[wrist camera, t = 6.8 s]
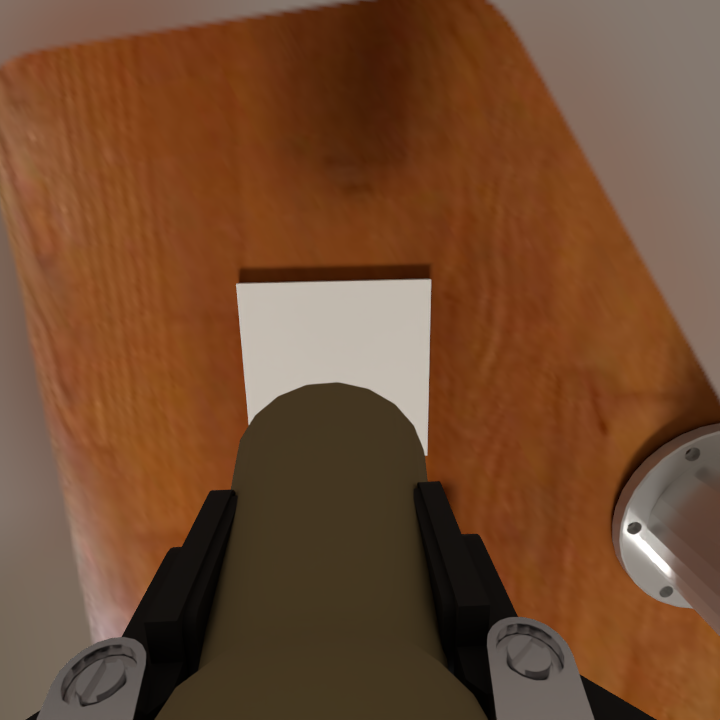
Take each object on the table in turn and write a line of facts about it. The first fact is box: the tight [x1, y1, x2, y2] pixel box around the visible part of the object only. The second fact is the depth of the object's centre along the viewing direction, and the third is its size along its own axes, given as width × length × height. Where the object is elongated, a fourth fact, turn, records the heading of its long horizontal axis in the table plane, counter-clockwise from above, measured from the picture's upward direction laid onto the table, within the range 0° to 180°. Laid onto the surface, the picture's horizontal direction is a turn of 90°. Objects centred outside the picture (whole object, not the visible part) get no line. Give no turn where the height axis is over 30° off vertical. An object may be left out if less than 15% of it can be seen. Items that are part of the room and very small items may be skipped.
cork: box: [155, 382, 488, 720], centre depth 9 cm, size 6×6×11 cm
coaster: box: [236, 278, 431, 455], centre depth 25 cm, size 10×10×1 cm
